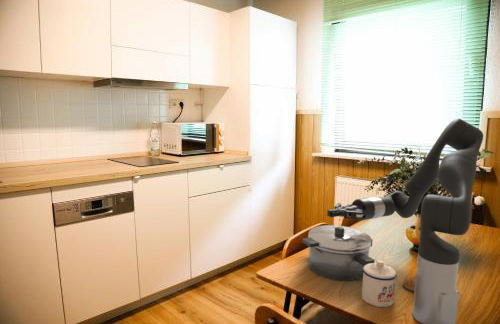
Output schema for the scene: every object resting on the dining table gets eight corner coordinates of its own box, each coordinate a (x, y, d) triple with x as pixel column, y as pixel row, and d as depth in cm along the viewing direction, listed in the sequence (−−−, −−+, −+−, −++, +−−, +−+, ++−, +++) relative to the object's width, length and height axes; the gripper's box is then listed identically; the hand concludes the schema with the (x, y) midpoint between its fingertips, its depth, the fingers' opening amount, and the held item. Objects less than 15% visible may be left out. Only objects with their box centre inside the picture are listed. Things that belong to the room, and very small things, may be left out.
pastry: (404, 292, 103) (405, 280, 103) (401, 282, 109) (402, 271, 109) (438, 297, 100) (439, 285, 100) (433, 286, 107) (434, 275, 106)
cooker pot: (398, 280, 110) (400, 251, 108) (342, 294, 101) (344, 262, 99) (337, 246, 137) (339, 222, 136) (289, 254, 128) (290, 229, 127)
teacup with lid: (381, 311, 92) (384, 271, 91) (354, 296, 100) (356, 259, 98) (406, 299, 99) (410, 261, 97) (379, 285, 106) (382, 250, 105)
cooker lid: (384, 246, 112) (385, 234, 111) (325, 257, 102) (326, 245, 102) (343, 226, 131) (343, 216, 130) (289, 234, 121) (290, 224, 121)
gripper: (356, 194, 126) (317, 198, 119) (383, 203, 114) (342, 208, 107) (354, 213, 127) (316, 218, 120) (381, 224, 115) (340, 230, 108)
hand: (328, 213), depth 114 cm, fingers closed
